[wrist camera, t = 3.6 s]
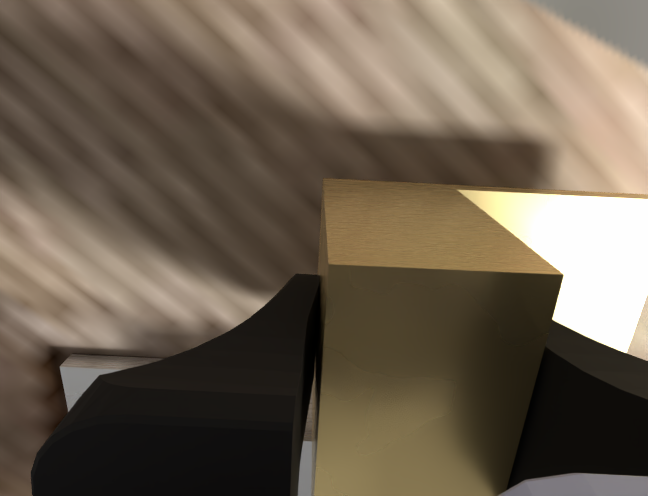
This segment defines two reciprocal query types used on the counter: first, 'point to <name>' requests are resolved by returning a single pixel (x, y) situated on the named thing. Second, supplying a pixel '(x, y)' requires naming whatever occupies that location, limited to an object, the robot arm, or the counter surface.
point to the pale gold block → (455, 323)
